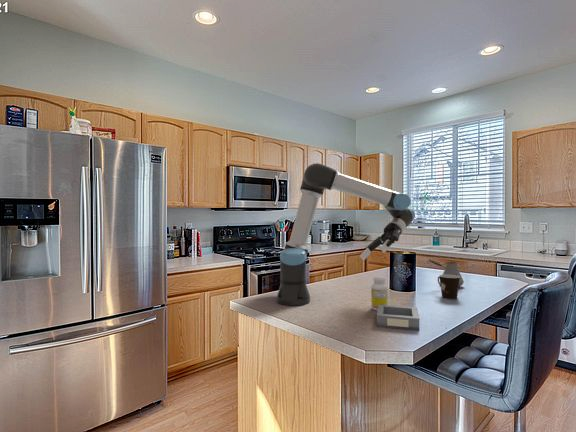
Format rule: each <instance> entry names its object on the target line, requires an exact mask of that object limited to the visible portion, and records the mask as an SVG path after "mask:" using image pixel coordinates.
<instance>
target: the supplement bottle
mask: <svg viewBox="0 0 576 432" xmlns="http://www.w3.org/2000/svg"><path fill="white" fill-rule="evenodd" d="M373 282H374V283H372V284H371V288H370V289H371V309H372V310H374V311H376V312H377V311H378V306H379V305H389V287H388V285H387V284H386V278H385V277H379V276H378V277H377V276H376V277H374V278H373Z"/></svg>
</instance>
